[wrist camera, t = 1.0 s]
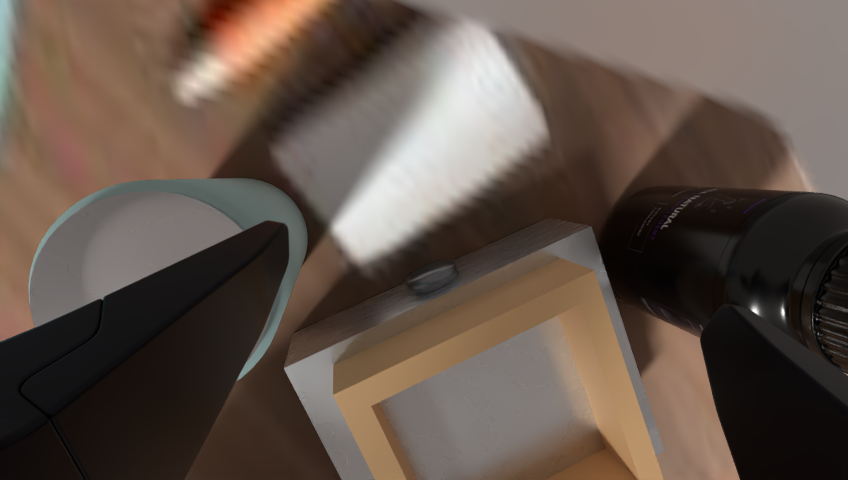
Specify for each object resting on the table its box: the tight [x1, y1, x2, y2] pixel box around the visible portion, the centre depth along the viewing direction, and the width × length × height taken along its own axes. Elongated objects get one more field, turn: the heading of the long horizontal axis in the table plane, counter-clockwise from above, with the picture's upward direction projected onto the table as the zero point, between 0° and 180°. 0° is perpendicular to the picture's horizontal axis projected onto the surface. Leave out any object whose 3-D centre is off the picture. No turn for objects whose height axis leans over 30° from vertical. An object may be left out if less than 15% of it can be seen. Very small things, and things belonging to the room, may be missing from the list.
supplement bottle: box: [600, 186, 848, 374], centre depth 19 cm, size 7×7×12 cm
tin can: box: [29, 178, 308, 381], centre depth 15 cm, size 6×6×10 cm
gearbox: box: [284, 218, 664, 480], centre depth 20 cm, size 14×13×6 cm
